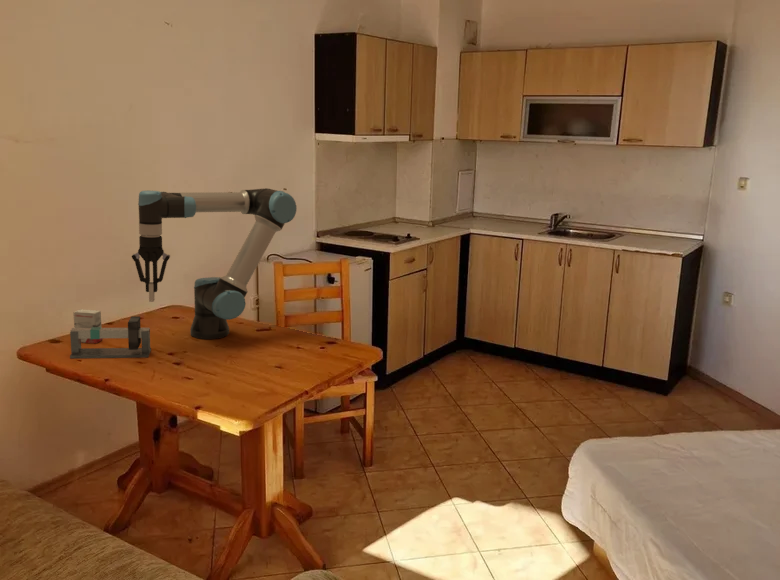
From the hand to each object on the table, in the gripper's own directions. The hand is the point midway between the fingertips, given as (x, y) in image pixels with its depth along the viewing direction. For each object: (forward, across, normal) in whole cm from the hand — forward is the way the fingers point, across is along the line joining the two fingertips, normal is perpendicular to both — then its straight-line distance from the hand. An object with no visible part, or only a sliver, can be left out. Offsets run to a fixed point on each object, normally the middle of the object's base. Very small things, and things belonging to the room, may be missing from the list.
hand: (151, 300), depth 244 cm
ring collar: (+17, +6, 0) cm, 18 cm away
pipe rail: (+20, +14, 0) cm, 25 cm away
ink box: (+20, +25, -16) cm, 36 cm away
